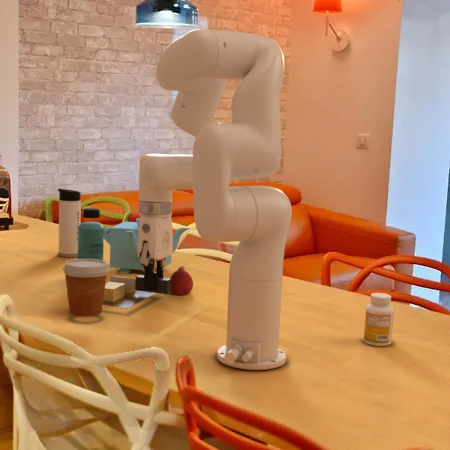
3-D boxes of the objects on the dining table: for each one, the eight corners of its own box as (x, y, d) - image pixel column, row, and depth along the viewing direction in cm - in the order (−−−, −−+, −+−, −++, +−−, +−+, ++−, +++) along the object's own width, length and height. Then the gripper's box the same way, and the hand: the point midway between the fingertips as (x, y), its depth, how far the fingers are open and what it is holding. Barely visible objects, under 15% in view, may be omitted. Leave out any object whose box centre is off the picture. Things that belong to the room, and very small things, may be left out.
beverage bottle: (70, 290, 180) (71, 208, 177) (87, 285, 186) (89, 205, 183) (92, 294, 177) (93, 211, 174) (108, 289, 183) (110, 208, 180)
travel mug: (55, 253, 223) (55, 187, 220) (77, 253, 226) (78, 187, 223) (60, 258, 217) (60, 189, 214) (82, 256, 220) (83, 189, 217)
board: (127, 314, 161) (127, 308, 161) (78, 308, 165) (78, 301, 164) (157, 298, 176) (157, 292, 176) (111, 292, 180) (112, 286, 179)
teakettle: (96, 268, 206) (96, 215, 204) (154, 262, 217) (156, 212, 215) (128, 282, 191) (129, 225, 189) (189, 275, 202) (191, 221, 200)
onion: (188, 303, 173) (190, 269, 172) (165, 301, 174) (166, 267, 173) (194, 297, 178) (196, 264, 177) (171, 295, 180) (172, 262, 178)
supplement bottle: (371, 336, 153) (375, 290, 151) (395, 342, 149) (399, 295, 148) (358, 342, 148) (362, 294, 147) (383, 348, 145) (386, 300, 144)
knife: (171, 292, 171) (171, 278, 171) (167, 294, 169) (167, 280, 168) (112, 284, 176) (112, 271, 175) (107, 286, 173) (108, 273, 173)
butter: (113, 302, 165) (113, 289, 165) (96, 300, 166) (97, 287, 166) (125, 296, 171) (125, 283, 170) (109, 294, 172) (109, 281, 171)
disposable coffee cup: (63, 325, 151) (64, 268, 149) (61, 313, 160) (61, 258, 158) (110, 324, 153) (112, 267, 152) (105, 311, 162) (106, 258, 161)
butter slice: (131, 293, 174) (131, 280, 173) (115, 291, 175) (115, 278, 174) (135, 291, 176) (136, 278, 175) (120, 289, 177) (120, 276, 177)
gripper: (155, 213, 160) (154, 297, 162) (183, 206, 175) (181, 283, 177) (124, 211, 162) (123, 293, 165) (154, 204, 177) (153, 280, 180)
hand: (153, 287), depth 171 cm, fingers closed on knife, 2 cm apart
